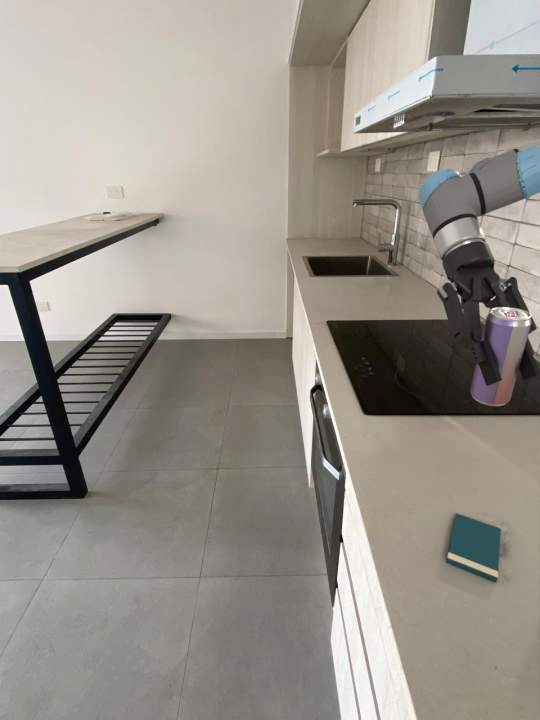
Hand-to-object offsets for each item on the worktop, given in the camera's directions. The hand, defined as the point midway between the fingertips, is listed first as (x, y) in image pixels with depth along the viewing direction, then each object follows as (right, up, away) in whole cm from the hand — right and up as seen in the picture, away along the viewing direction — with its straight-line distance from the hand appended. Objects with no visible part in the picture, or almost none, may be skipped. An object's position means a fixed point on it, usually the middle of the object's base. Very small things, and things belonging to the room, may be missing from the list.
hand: (513, 379), depth 60 cm
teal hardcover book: (-9, -23, -5) cm, 25 cm away
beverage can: (-1, -4, +6) cm, 7 cm away
